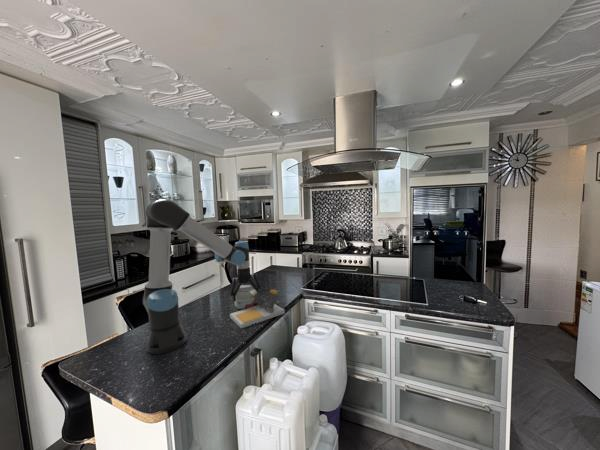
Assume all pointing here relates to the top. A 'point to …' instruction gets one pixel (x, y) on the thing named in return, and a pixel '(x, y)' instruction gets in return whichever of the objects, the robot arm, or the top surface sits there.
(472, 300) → the top surface
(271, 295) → the tagged breaker
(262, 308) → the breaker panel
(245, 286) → the ink box
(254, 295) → the plain breaker
